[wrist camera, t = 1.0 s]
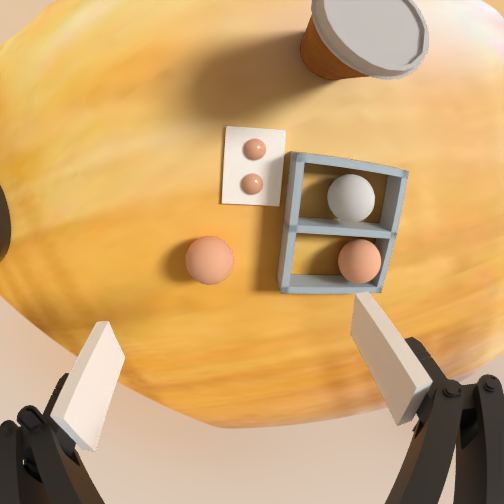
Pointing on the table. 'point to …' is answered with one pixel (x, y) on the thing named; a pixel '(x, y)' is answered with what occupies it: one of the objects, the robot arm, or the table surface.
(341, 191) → the ball grey
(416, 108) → the table surface
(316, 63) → the disposable coffee cup
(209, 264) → the terracotta ball
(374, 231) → the rack
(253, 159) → the tile
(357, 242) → the terracotta ball
